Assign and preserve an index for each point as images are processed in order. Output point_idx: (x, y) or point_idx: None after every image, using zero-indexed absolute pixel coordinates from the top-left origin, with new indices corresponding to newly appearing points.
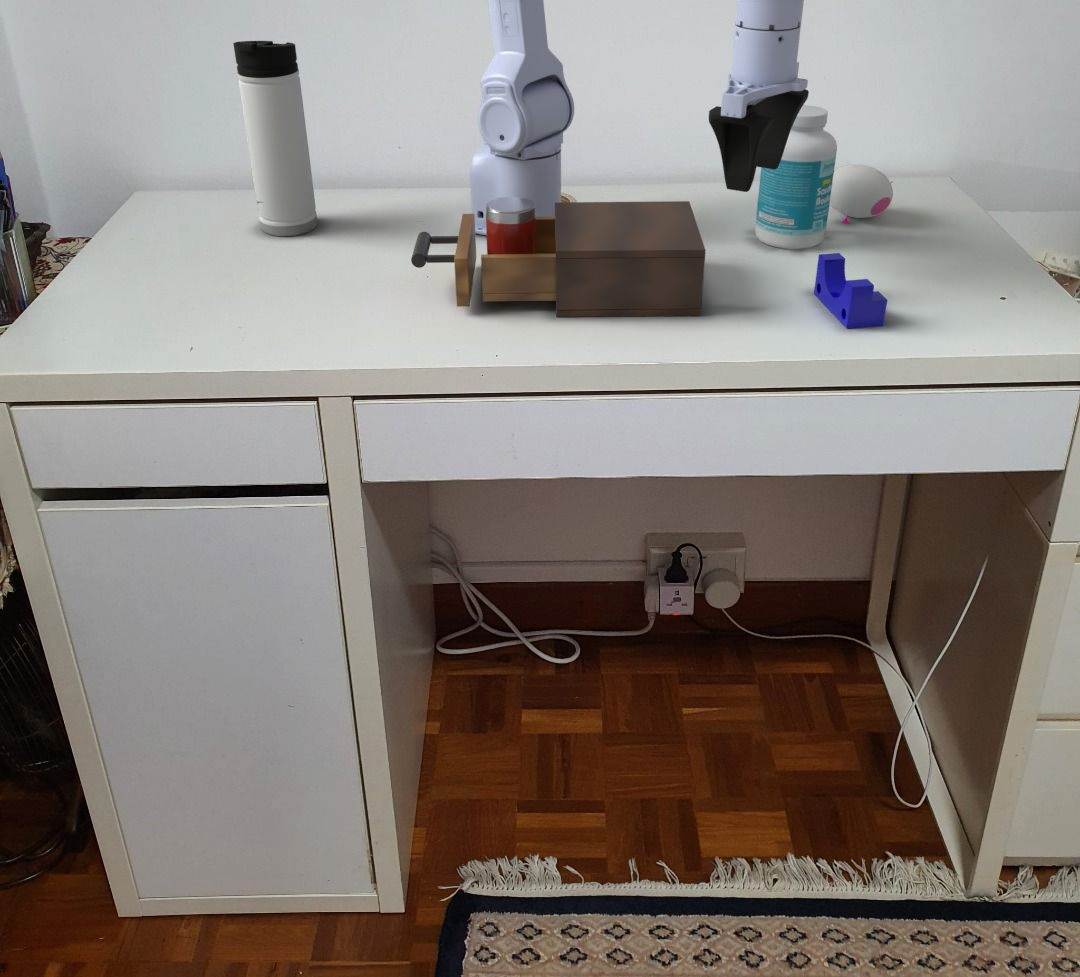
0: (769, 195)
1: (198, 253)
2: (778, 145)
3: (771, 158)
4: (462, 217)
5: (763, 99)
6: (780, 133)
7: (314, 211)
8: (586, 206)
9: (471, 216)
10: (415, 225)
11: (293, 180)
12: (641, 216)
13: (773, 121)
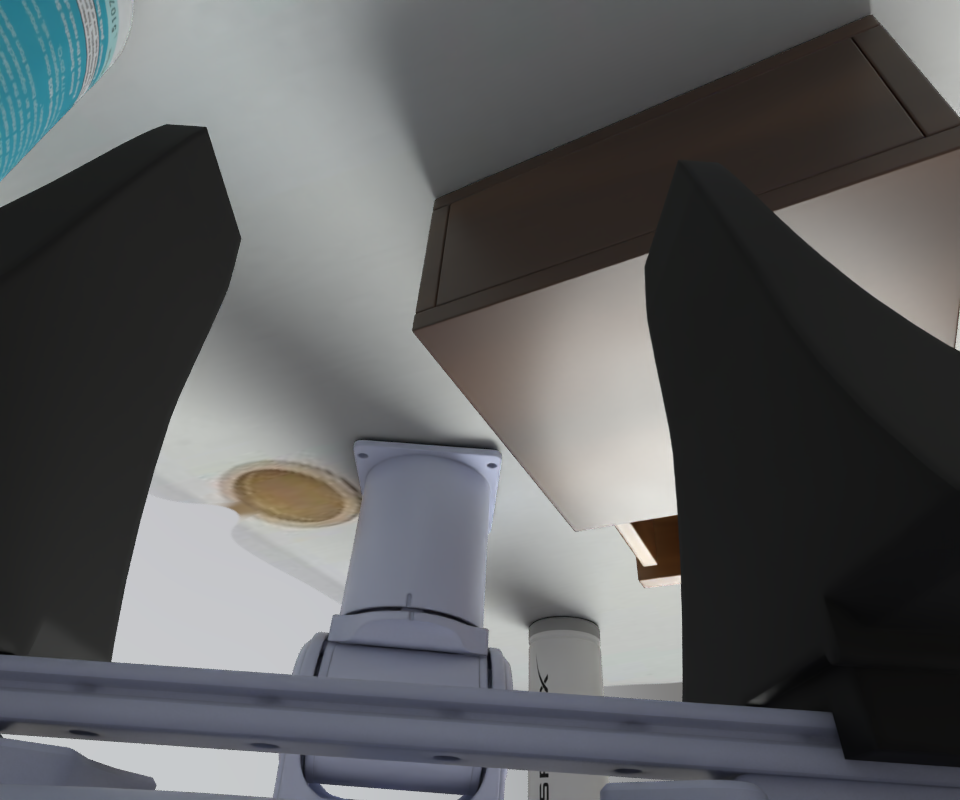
0: (45, 99)
1: (673, 647)
2: (137, 219)
3: (196, 196)
4: (666, 585)
5: (53, 589)
6: (92, 274)
7: (549, 637)
8: (580, 492)
9: (657, 580)
10: (492, 567)
11: (589, 694)
12: (617, 396)
13: (942, 475)
